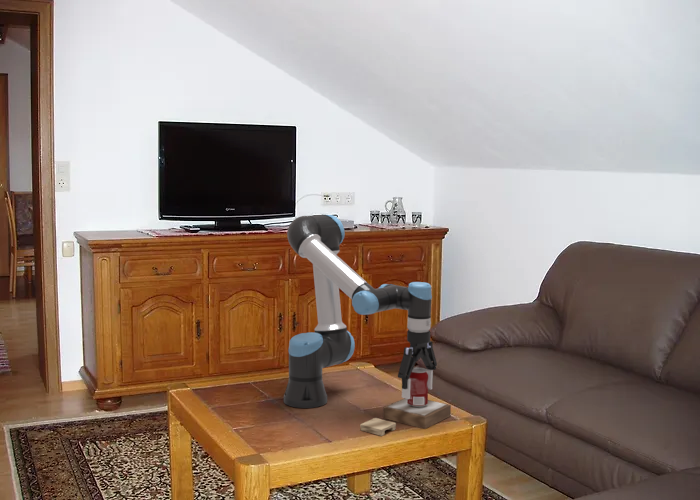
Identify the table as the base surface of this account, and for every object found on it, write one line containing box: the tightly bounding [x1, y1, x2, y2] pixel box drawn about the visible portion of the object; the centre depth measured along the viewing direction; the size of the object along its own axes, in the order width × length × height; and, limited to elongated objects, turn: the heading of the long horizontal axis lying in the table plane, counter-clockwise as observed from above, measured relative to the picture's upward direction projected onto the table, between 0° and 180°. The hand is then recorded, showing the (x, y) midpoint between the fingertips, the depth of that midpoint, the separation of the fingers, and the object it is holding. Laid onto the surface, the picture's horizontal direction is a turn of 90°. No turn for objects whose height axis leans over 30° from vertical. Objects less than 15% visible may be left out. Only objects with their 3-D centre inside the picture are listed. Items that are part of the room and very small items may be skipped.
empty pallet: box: [359, 417, 397, 437], centre depth 241 cm, size 8×8×2 cm
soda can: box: [407, 367, 429, 408], centre depth 252 cm, size 7×7×12 cm
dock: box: [382, 398, 452, 430], centre depth 253 cm, size 16×16×4 cm
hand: (417, 393), depth 252 cm, fingers open, 13 cm apart
